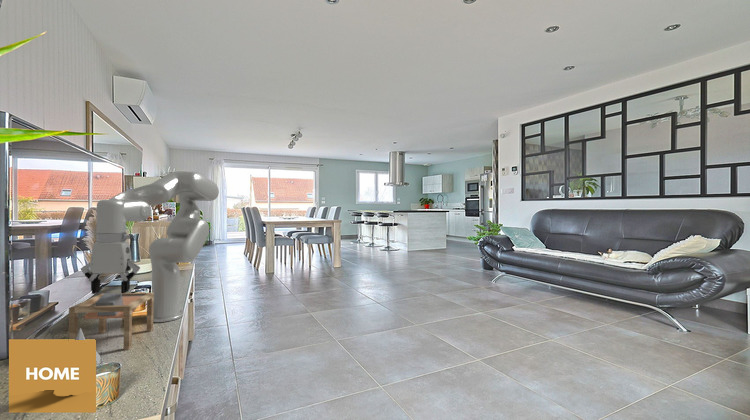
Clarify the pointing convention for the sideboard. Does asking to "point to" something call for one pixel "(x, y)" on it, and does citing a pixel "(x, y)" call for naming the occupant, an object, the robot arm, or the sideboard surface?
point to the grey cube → (109, 302)
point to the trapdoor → (126, 301)
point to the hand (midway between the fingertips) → (110, 292)
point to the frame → (127, 310)
